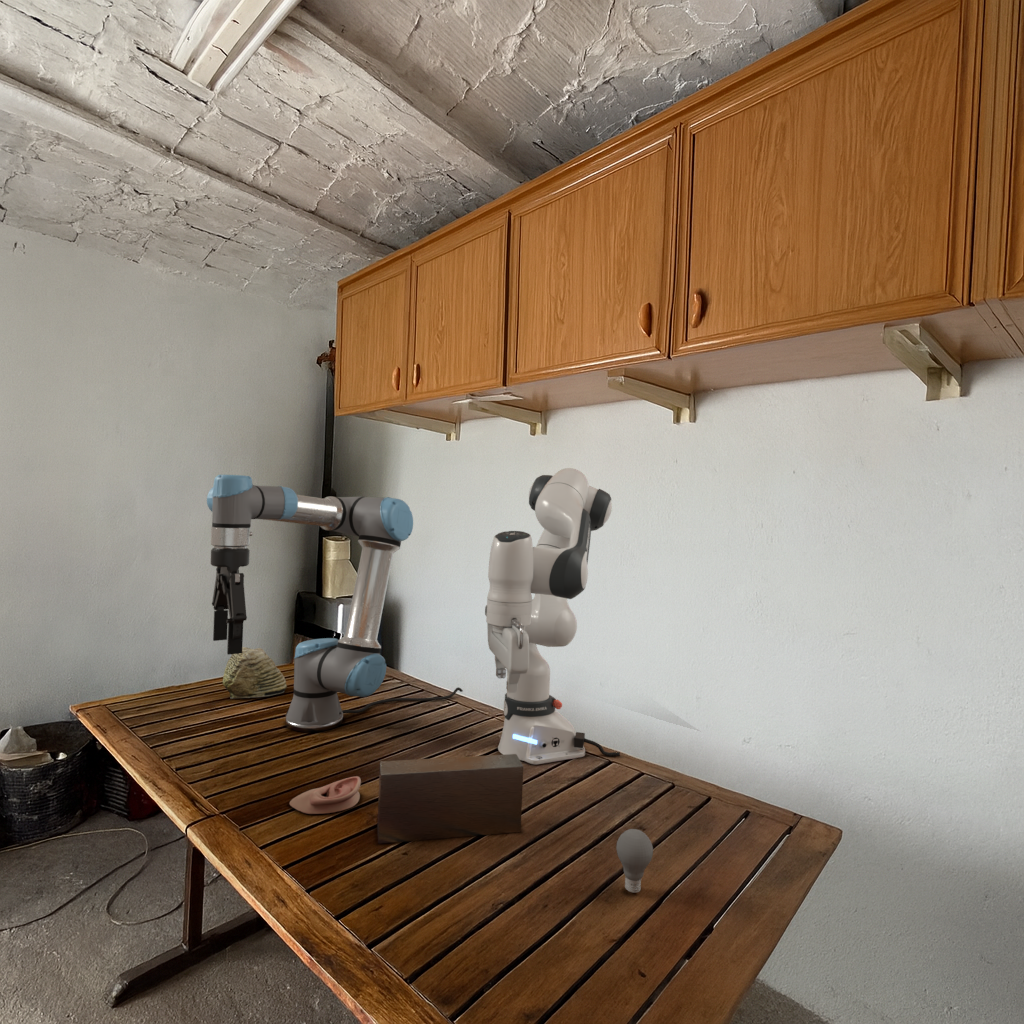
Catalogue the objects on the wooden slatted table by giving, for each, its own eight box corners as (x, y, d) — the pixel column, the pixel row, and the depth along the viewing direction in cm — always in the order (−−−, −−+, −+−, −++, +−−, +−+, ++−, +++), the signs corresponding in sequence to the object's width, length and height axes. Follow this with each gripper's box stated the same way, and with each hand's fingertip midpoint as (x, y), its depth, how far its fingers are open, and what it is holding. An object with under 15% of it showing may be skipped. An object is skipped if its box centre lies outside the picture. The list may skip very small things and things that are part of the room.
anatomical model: (281, 790, 127) (311, 767, 138) (281, 810, 127) (310, 785, 138) (342, 799, 124) (367, 775, 136) (342, 819, 124) (367, 793, 136)
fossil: (218, 695, 195) (220, 647, 195) (278, 685, 208) (279, 640, 207) (228, 703, 189) (230, 653, 188) (289, 692, 201) (290, 645, 201)
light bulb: (610, 879, 108) (613, 822, 108) (644, 879, 109) (647, 822, 109) (619, 902, 102) (622, 840, 102) (655, 901, 103) (658, 840, 103)
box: (378, 844, 117) (380, 774, 116) (377, 827, 122) (379, 761, 122) (520, 832, 123) (523, 766, 123) (513, 816, 129) (516, 753, 129)
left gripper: (265, 552, 127) (261, 657, 127) (235, 542, 147) (232, 633, 147) (224, 552, 122) (221, 662, 123) (199, 542, 143) (196, 636, 143)
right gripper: (539, 624, 115) (535, 700, 115) (512, 605, 135) (509, 670, 135) (505, 624, 113) (501, 701, 114) (483, 605, 133) (480, 670, 133)
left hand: (227, 646), depth 135 cm, fingers open, 13 cm apart
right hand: (506, 684), depth 124 cm, fingers open, 8 cm apart
